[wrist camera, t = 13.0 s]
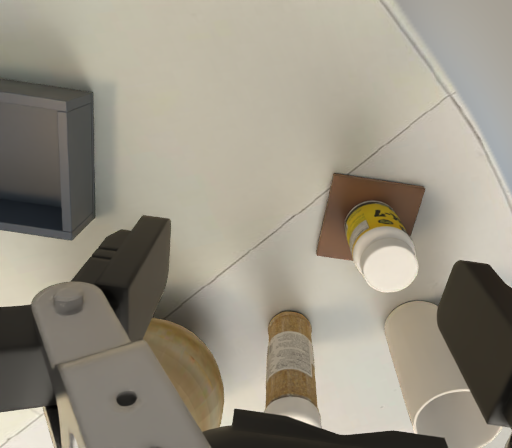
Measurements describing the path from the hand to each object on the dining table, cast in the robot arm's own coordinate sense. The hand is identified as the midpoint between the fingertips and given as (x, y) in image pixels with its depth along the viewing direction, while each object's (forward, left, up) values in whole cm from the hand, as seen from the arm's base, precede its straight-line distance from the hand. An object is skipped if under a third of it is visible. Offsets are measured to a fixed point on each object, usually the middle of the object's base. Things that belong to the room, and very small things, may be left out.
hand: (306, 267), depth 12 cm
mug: (+18, +17, -27) cm, 36 cm away
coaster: (+9, +9, -26) cm, 29 cm away
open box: (+7, -23, -26) cm, 36 cm away
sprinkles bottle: (+22, +4, -27) cm, 35 cm away
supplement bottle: (+9, +9, -26) cm, 29 cm away
